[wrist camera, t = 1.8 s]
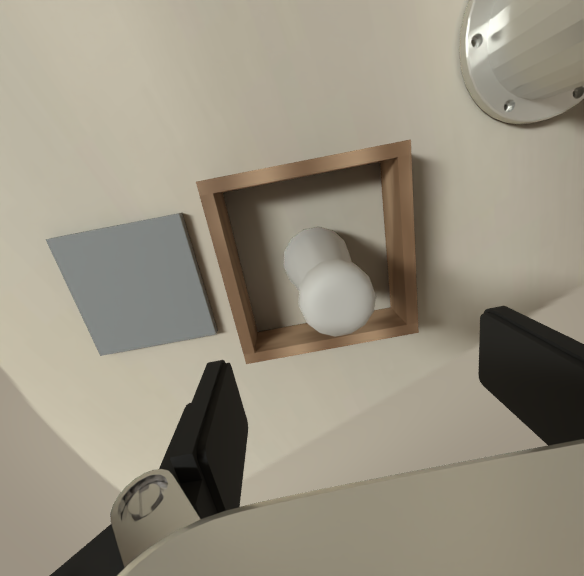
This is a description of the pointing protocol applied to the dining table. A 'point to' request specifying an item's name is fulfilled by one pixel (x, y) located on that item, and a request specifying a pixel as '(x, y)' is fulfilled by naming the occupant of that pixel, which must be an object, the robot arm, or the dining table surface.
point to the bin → (398, 250)
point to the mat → (136, 284)
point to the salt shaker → (328, 282)
